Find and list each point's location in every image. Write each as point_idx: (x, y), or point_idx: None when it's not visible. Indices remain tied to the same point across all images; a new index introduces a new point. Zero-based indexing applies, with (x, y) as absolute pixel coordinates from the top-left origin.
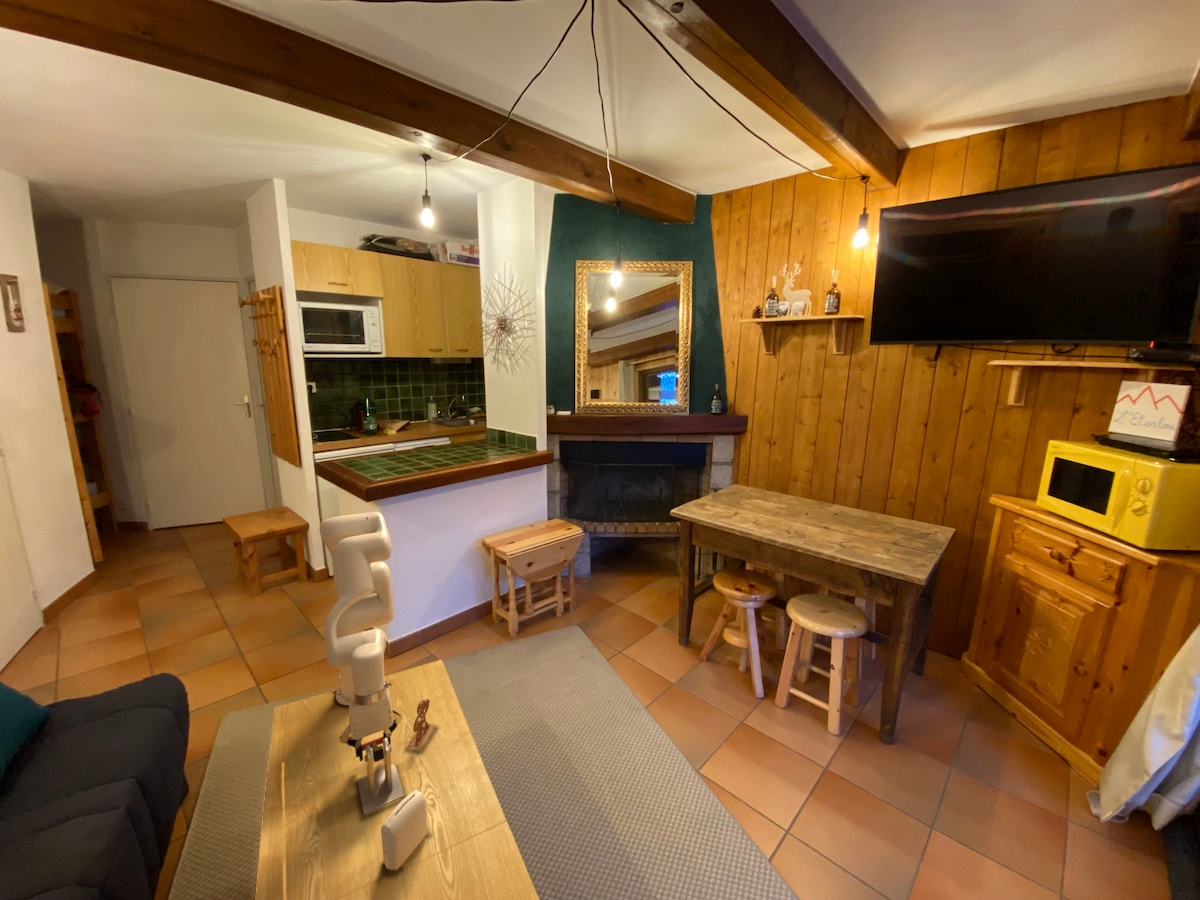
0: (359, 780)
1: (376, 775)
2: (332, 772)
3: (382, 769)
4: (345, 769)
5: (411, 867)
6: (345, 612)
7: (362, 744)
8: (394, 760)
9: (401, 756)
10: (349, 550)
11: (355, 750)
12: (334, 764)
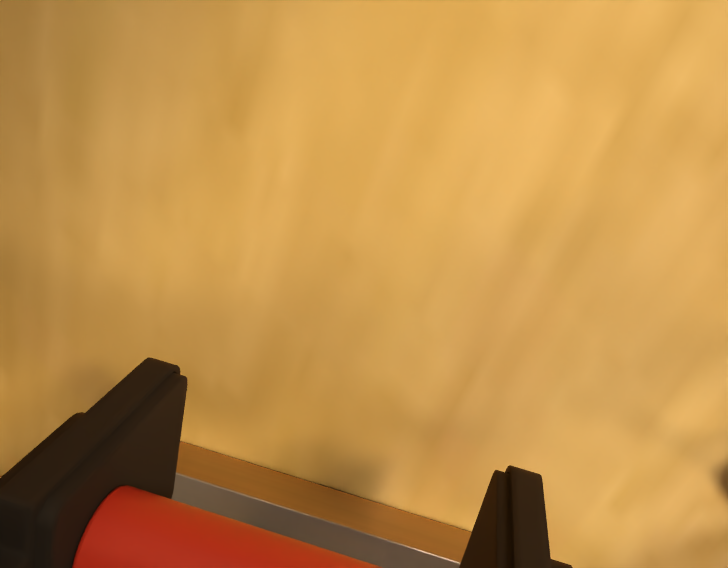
0: None
1: None
2: (5, 133)
3: (378, 545)
4: (119, 195)
5: None
6: None
7: (90, 564)
8: (550, 464)
9: (635, 474)
10: None
11: (43, 444)
12: (33, 27)
